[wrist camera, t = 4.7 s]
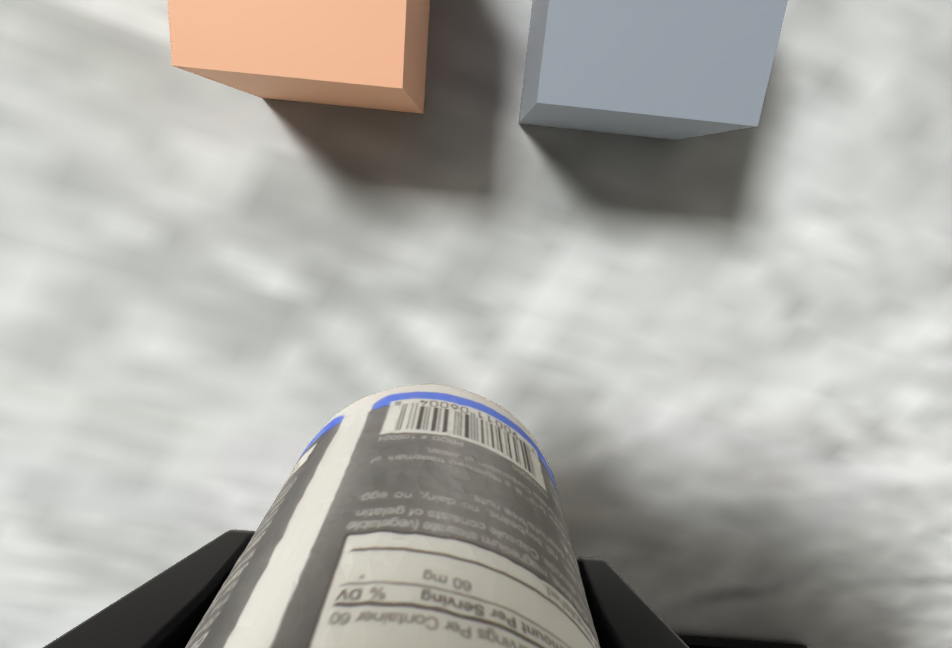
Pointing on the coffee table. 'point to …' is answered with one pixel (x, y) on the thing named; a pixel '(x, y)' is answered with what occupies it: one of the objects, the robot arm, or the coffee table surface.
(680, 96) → the slate-grey block
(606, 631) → the robot arm
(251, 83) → the terracotta block
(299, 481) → the pill bottle
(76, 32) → the coffee table surface
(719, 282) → the coffee table surface
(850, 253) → the coffee table surface
